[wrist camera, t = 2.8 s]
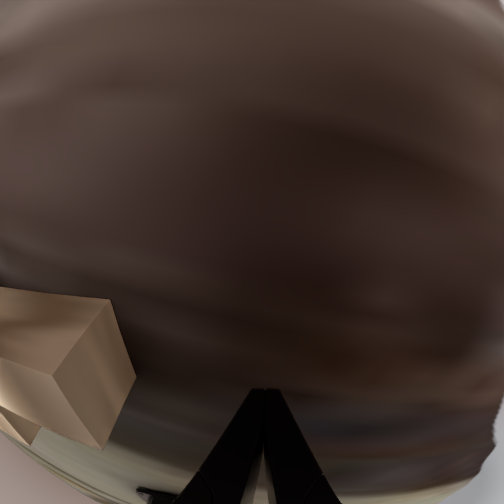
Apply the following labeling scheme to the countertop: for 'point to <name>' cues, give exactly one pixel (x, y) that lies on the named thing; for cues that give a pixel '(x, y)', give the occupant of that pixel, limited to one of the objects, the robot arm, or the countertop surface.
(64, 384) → the t block
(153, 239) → the countertop surface
